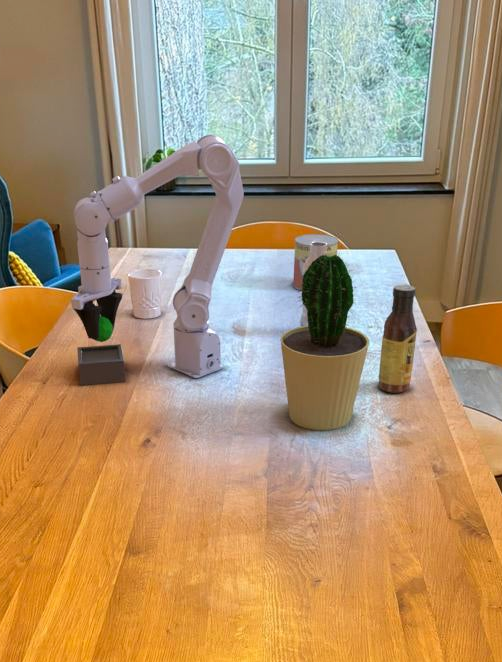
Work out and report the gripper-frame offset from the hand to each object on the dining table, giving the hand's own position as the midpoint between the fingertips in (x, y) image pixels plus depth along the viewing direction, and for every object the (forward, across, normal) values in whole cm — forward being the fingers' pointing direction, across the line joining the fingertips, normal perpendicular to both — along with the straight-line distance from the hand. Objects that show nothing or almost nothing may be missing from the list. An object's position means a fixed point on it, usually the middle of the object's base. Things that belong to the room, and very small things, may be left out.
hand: (101, 333), depth 160 cm
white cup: (+9, -35, -11) cm, 37 cm away
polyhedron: (+2, 0, 0) cm, 2 cm away
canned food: (+8, -73, +18) cm, 76 cm away
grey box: (+8, +1, 0) cm, 8 cm away
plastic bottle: (+8, -40, +31) cm, 51 cm away
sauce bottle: (+8, -18, +56) cm, 59 cm away
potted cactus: (+8, 0, +47) cm, 48 cm away
